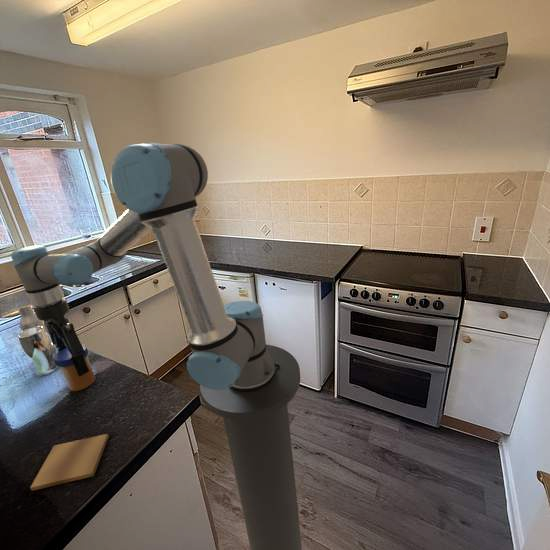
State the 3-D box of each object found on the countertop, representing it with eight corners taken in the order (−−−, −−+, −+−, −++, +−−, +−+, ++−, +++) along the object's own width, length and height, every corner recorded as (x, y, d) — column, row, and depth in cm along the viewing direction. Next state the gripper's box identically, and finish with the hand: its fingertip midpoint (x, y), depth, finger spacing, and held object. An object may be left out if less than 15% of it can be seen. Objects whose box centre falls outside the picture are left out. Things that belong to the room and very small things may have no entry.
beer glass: (64, 365, 102) (48, 327, 96) (43, 378, 96) (24, 339, 90) (52, 361, 104) (35, 324, 99) (30, 374, 99) (11, 335, 93)
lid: (92, 347, 93) (90, 341, 92) (81, 363, 86) (79, 357, 85) (63, 352, 92) (61, 347, 91) (50, 369, 84) (47, 363, 84)
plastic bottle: (47, 351, 110) (26, 303, 103) (62, 352, 109) (41, 304, 102) (31, 363, 105) (7, 313, 97) (46, 364, 103) (23, 313, 96)
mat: (109, 436, 72) (107, 433, 72) (93, 476, 63) (92, 473, 63) (55, 448, 70) (53, 445, 70) (31, 491, 61) (29, 487, 61)
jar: (99, 372, 96) (88, 344, 92) (90, 388, 89) (78, 358, 85) (75, 377, 95) (63, 349, 91) (64, 393, 88) (51, 363, 84)
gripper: (81, 303, 79) (106, 372, 87) (49, 290, 91) (74, 352, 99) (49, 316, 73) (80, 388, 82) (19, 300, 85) (48, 365, 93)
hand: (76, 368), depth 90 cm, fingers closed on lid, 8 cm apart
